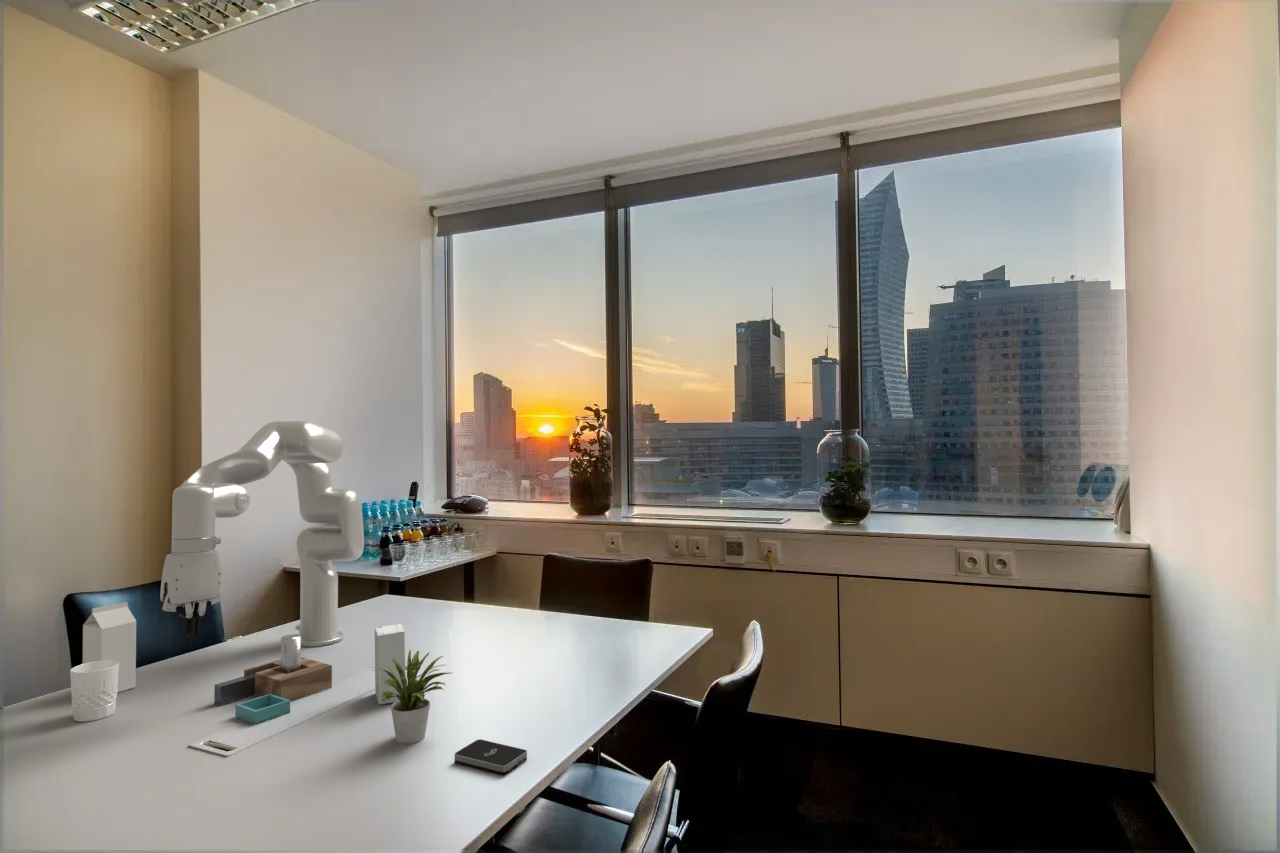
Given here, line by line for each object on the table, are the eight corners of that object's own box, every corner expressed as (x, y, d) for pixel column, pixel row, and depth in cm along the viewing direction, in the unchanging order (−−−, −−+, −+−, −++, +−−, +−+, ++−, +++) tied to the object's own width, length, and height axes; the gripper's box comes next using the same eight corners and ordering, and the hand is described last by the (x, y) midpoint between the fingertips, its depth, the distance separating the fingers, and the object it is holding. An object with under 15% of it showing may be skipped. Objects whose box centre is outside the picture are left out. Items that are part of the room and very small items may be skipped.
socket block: (243, 692, 155) (244, 669, 155) (294, 676, 166) (295, 655, 166) (280, 704, 148) (280, 681, 148) (331, 687, 158) (331, 665, 158)
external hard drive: (504, 779, 117) (504, 767, 117) (452, 765, 121) (452, 754, 122) (528, 761, 123) (528, 750, 123) (477, 749, 128) (477, 738, 128)
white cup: (128, 710, 145) (128, 662, 145) (87, 725, 138) (87, 674, 138) (101, 706, 148) (102, 658, 148) (60, 720, 140) (60, 670, 140)
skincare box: (406, 701, 150) (406, 631, 150) (376, 706, 147) (376, 635, 148) (402, 688, 158) (402, 622, 158) (373, 692, 155) (373, 625, 155)
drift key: (214, 703, 149) (214, 684, 149) (251, 691, 155) (252, 673, 156) (220, 705, 147) (220, 686, 147) (258, 694, 154) (258, 675, 154)
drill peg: (277, 692, 156) (277, 637, 156) (294, 686, 159) (294, 633, 159) (287, 695, 154) (288, 640, 154) (304, 689, 157) (304, 635, 157)
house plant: (400, 765, 121) (401, 669, 121) (350, 746, 128) (350, 656, 128) (462, 735, 133) (462, 648, 133) (413, 719, 140) (413, 637, 140)
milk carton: (135, 687, 158) (136, 603, 159) (100, 698, 152) (101, 610, 152) (117, 683, 161) (118, 600, 162) (81, 693, 155) (82, 607, 155)
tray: (235, 717, 142) (235, 704, 142) (269, 705, 148) (270, 693, 148) (255, 724, 138) (255, 711, 138) (290, 712, 144) (290, 700, 144)
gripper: (221, 540, 153) (219, 625, 152) (143, 549, 140) (142, 641, 139) (240, 543, 149) (238, 630, 148) (162, 552, 136) (160, 647, 135)
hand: (191, 635), depth 144 cm, fingers closed
